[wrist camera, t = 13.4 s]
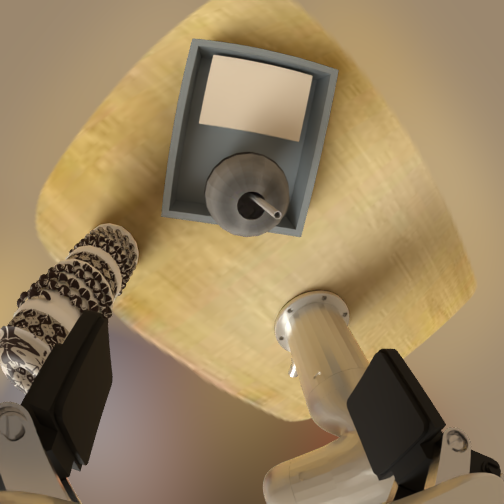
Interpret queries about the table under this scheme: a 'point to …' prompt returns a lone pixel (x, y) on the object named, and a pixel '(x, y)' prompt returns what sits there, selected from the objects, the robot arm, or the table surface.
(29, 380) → the decorative candle
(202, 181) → the tray
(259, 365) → the table surface
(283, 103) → the beige rectangular block
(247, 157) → the beverage cup
